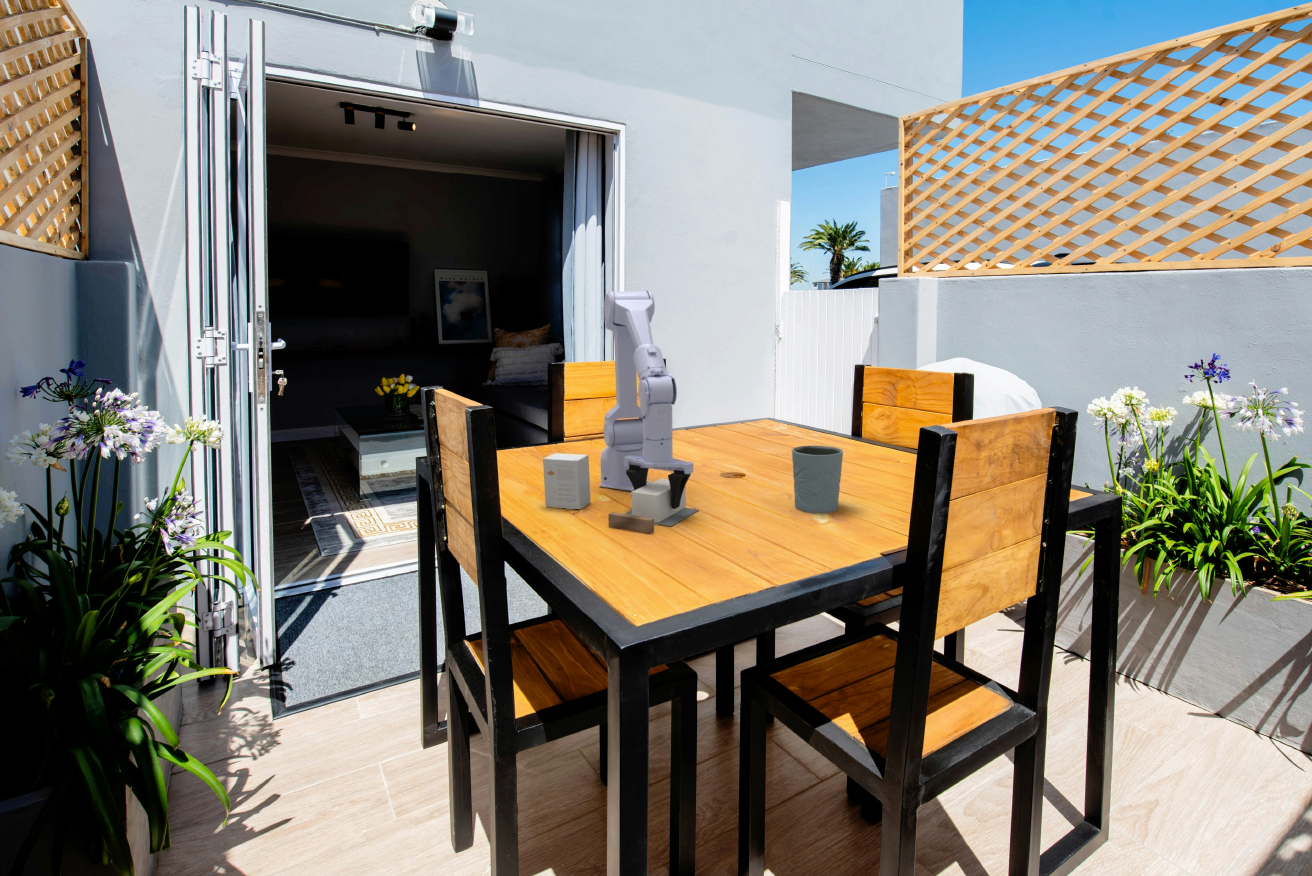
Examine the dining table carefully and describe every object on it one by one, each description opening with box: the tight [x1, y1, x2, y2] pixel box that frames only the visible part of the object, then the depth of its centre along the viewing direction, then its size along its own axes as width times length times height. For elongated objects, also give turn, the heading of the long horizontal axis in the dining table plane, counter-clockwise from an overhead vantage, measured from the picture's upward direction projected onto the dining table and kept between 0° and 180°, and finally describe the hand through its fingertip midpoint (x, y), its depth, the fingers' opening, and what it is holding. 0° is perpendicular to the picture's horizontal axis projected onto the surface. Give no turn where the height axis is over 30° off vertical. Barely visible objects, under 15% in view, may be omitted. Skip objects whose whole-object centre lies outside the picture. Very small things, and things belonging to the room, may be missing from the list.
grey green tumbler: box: [791, 445, 844, 514], centre depth 144 cm, size 10×10×12 cm
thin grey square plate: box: [624, 507, 700, 528], centre depth 141 cm, size 12×12×1 cm
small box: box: [542, 452, 592, 511], centre depth 147 cm, size 8×6×10 cm
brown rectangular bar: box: [607, 511, 655, 535], centre depth 132 cm, size 9×2×2 cm, turn 61°
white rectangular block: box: [630, 478, 687, 523], centre depth 141 cm, size 6×12×6 cm, turn 151°
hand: (658, 505), depth 141 cm, fingers open, 7 cm apart
